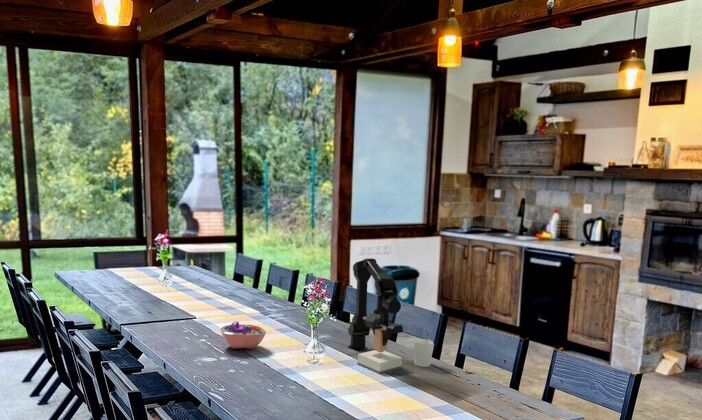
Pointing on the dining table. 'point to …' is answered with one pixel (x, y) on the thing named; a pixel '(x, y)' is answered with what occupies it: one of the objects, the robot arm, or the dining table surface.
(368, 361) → the socket plate
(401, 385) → the dining table surface
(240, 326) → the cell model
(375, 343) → the plug
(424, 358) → the white cup
